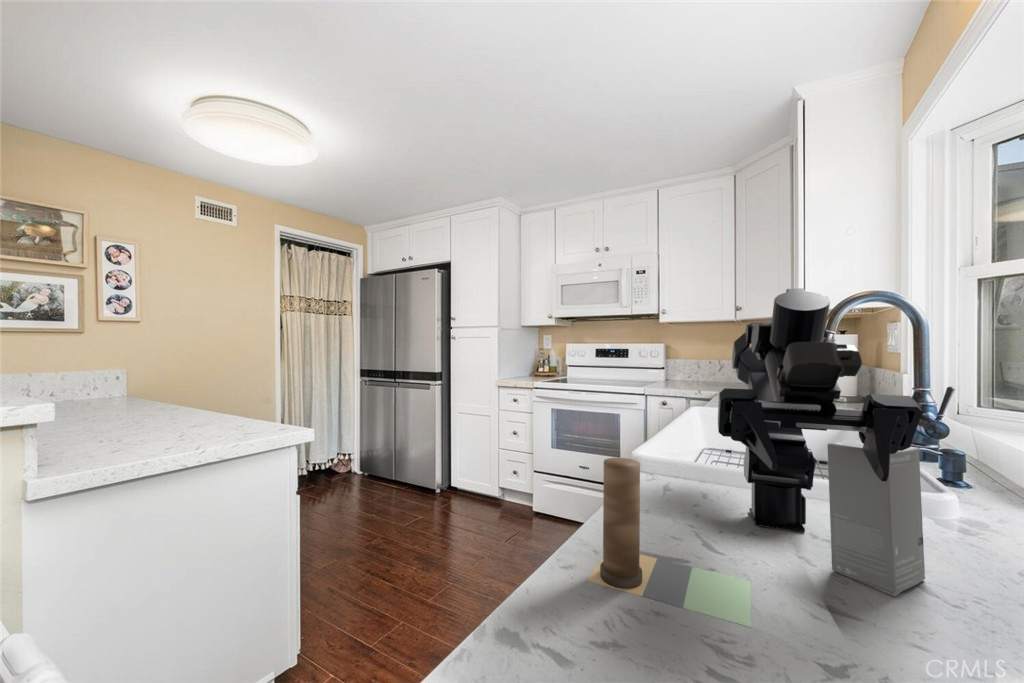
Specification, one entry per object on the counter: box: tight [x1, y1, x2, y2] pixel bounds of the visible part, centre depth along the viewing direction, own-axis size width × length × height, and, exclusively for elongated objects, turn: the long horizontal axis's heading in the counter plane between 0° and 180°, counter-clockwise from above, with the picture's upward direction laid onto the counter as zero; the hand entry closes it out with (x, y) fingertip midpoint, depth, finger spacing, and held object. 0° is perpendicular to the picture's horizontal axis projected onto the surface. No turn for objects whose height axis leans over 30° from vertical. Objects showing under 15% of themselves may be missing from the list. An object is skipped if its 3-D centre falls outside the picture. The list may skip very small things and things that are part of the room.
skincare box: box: [826, 439, 926, 597], centre depth 51 cm, size 8×7×16 cm
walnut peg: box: [600, 457, 642, 589], centre depth 48 cm, size 5×5×13 cm
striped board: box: [586, 553, 753, 629], centre depth 47 cm, size 16×9×1 cm, turn 61°
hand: (827, 472), depth 42 cm, fingers open, 9 cm apart
